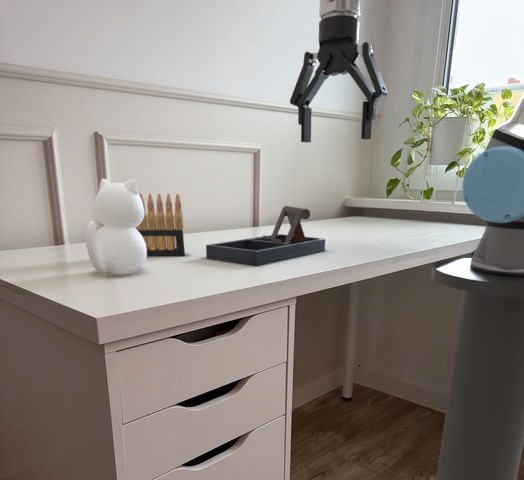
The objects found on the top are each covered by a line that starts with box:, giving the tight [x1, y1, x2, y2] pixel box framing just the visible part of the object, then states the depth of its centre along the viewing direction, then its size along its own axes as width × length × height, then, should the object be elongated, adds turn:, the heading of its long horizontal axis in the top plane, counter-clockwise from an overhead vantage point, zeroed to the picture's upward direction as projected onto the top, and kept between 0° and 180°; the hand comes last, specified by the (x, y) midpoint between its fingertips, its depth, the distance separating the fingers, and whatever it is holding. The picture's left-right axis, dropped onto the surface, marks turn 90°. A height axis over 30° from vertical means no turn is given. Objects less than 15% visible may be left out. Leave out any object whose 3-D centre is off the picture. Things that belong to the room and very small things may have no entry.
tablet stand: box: [263, 205, 311, 244], centre depth 110 cm, size 9×8×8 cm
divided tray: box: [205, 233, 326, 267], centre depth 107 cm, size 13×24×3 cm, turn 143°
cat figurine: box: [85, 178, 148, 276], centre depth 84 cm, size 9×12×15 cm
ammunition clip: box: [135, 193, 186, 257], centre depth 102 cm, size 11×2×12 cm, turn 98°
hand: (334, 140), depth 104 cm, fingers open, 13 cm apart
